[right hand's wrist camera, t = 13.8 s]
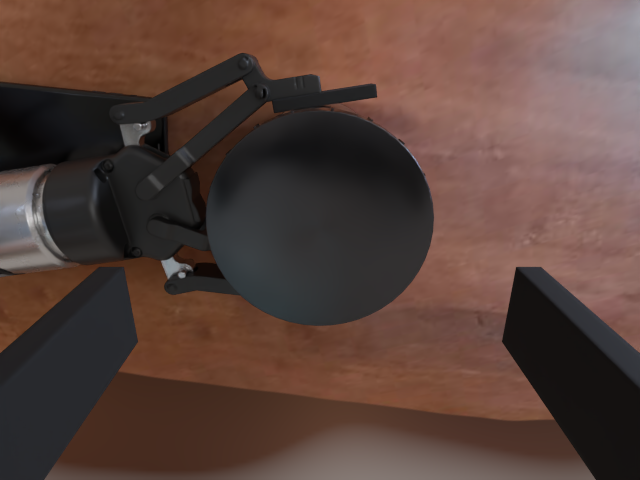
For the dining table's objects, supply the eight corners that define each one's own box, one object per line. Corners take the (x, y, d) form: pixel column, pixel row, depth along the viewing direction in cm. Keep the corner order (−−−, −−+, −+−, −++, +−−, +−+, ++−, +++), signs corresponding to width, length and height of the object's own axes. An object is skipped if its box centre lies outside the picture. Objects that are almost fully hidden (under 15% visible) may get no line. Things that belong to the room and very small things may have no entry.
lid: (170, 232, 22) (159, 244, 20) (301, 53, 19) (299, 51, 17) (332, 344, 24) (333, 361, 23) (471, 202, 21) (483, 212, 20)
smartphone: (-18, 176, 36) (171, 194, 36) (-27, 178, 35) (167, 197, 35) (-38, 76, 33) (168, 98, 33) (-48, 76, 32) (164, 98, 32)
